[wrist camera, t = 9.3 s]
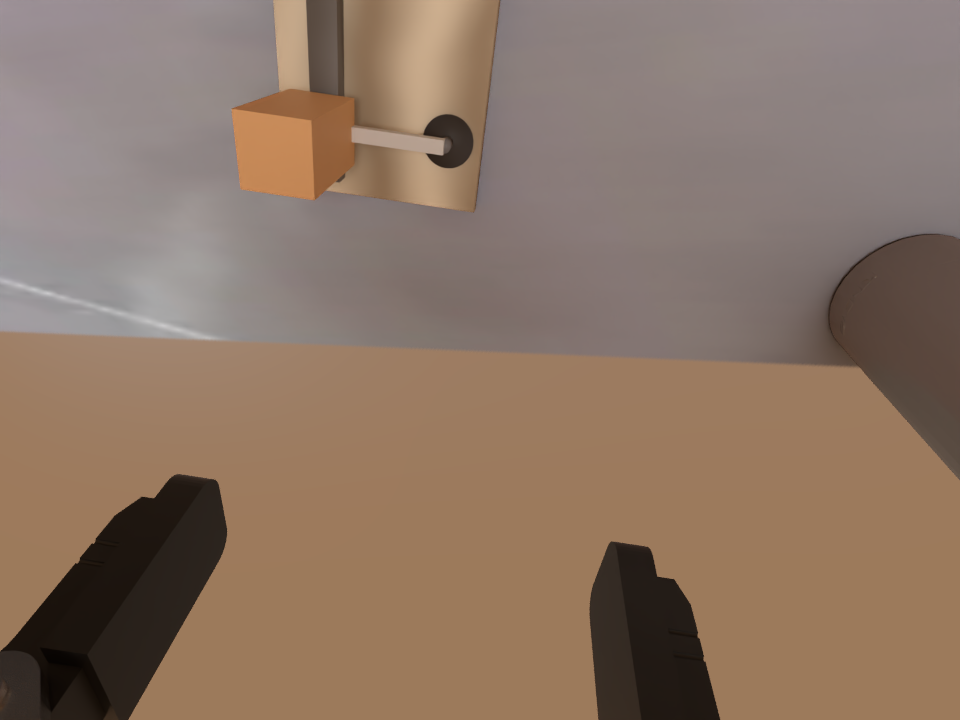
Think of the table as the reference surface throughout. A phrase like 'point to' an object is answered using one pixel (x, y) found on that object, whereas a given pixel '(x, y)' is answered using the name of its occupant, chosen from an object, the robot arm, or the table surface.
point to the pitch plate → (399, 86)
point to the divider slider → (308, 142)
